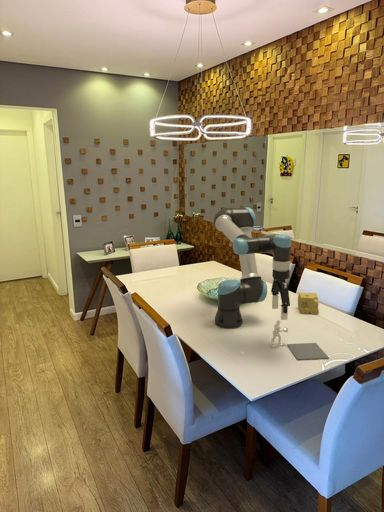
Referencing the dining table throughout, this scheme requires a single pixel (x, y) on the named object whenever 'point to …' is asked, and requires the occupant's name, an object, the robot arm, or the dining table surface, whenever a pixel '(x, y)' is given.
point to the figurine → (277, 334)
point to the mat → (307, 351)
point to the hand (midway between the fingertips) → (279, 313)
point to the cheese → (308, 303)
